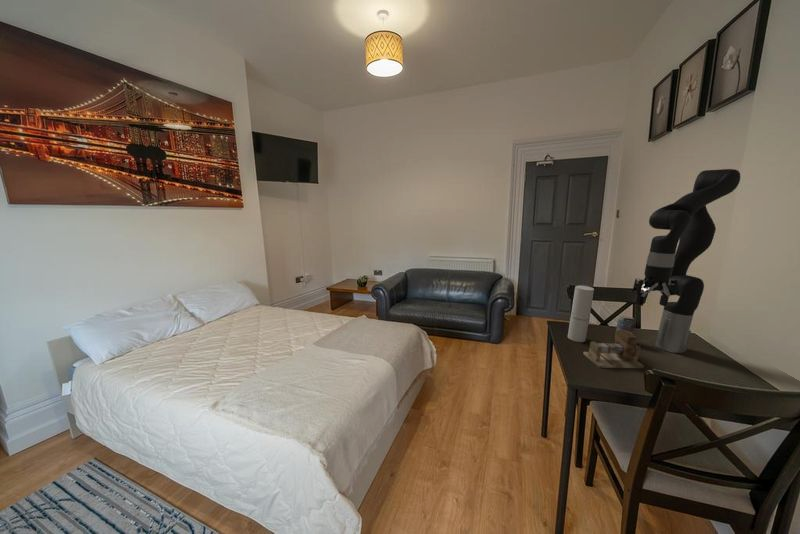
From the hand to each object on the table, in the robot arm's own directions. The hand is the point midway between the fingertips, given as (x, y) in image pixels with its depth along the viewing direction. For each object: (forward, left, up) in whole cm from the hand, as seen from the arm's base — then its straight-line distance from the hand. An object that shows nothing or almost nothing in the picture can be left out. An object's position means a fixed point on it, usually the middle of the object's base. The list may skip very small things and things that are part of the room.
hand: (651, 305), depth 108 cm
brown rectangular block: (+7, 0, -22) cm, 23 cm away
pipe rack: (+11, 0, -24) cm, 26 cm away
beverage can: (-6, -17, -24) cm, 30 cm away
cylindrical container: (+14, -19, -24) cm, 34 cm away
